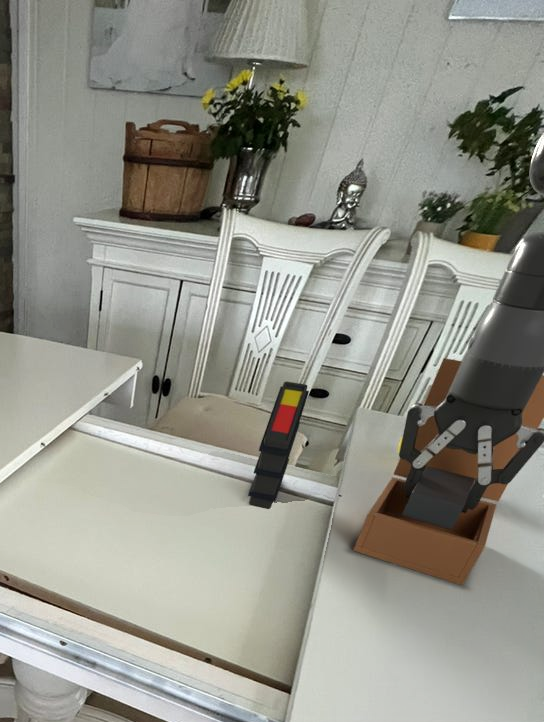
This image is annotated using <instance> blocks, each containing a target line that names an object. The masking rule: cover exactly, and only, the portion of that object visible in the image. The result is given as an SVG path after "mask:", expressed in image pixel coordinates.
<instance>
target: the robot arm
mask: <svg viewBox="0 0 544 722" xmlns="http://www.w3.org/2000/svg"><path fill="white" fill-rule="evenodd" d="M528 171H529V173H528V174H529V182H530V184H531V186H532V188H533V190H534V191H535V192H536V193H537V194H539V195H541V196H544V132H543V133H542V134H541V137H540V138H539V140H538V142H537V144H536V146H535V148H534V150H533V153H532V156H531V161H530V165H529V170H528ZM461 361H462V363H461V365H460V367H459V369H458V372H457V374H456V376H455V378H454V381H453V383H452V385H451V387H450V390H449V392H448V394H447V396H446V398H445V399H444V400H443V401H442V402H441V403H440V404H439V405H438V406H423V405H424V404H422V403H421V402H416V403H414V404H413V405H412V406H411V407H410V408H409V409H408V411H407V413H406V419H405V424H404V430H403V433H402V436H403V438H402V437H401V438H402V443H401V448H400V452H399V454H398V457H399V459H400V458H401V459H403V460H407V461H408V462H409V463H410V464H411V470H410V472H409V474H408V477H407V478H405V483H404V486H403V491H404V492H407V494H406V496H405V497H407V498H410V496H411V493H412V492H413V490H414V488H415V486H416V485H417V483H418V482H419V480H420V478H421V477H422V475H423V473H424V470H425V468H426V466H427V465H425V464H426V463H427V462H428V461H429V460H430V459H431V458H432V457H433V456H435V455H436V454H437V453H438V452H439V451H440V450H441V449H443V448H444V447H445V446H446V448H449V449H462V450H464V451H466V452H468V453H471V454H475V455H476V453H478V478H476V479H475V481H474V483H473V485H472V487H471V489H470V492H469V494H468V497H467V500H466V503H465V505H464V507H463V509H462V511H461V512H463V513H466V512H467V510H468V509H471V510H473V509H475V508H476V507H477V505H478V503H479V501H480V500H482V499H483V498H482V496H483V494H484V492H485V490H486V488H487V487H488V486H489V485H491V484H494V483H501V484H508V485H509V484H510V483H511V482H512V481H513V480H514V478H515V477H516V476H517V475H518V474H519V472H520V471H521V470H522V469H523V468H524V466H525V465H526V464H527V463H528V462H529V460H530V459H531V458H532V457H533V456H534V454H536V452H537V451H538V450H539V448H541V446H542V445H543V444H544V428H542V427H538V429H534V428H531V427H529V426H526V425H524V424H522V413H523V411H524V409H525V407H526V405H527V403H528V401H529V399H530V397H531V396H532V394H533V392H534V390H535V388H536V386H537V384H538V382H539V380H540V379H541V377H542V375H544V230H539V231H535V232H532V233H529V234H526V236H524V237H523V238H521V240H520V241H519V242H518V244H517V245H516V247H515V249H514V251H513V253H512V255H511V257H510V259H509V261H508V264H507V266H506V268H505V270H504V272H503V274H502V276H501V279H500V281H499V283H498V286H497V289H496V291H495V292H494V295H493V296H492V300H491V301H490V303H489V305H488V307H487V308H486V311H485V312H484V314H483V316H482V317H481V319H480V320H479V323H478V325H477V326H476V329H475V332H474V334H473V336H472V337H471V338H470V340H469V342H468V344H467V349H466V352H465V354H464V356H463V358H462V360H461ZM432 416H434V418H435V422H436V425H437V429H438V432H439V434H438V435H437V436H436V437H435V438H434V439H433V440H432V441H431V442H430V443H429V444H428V445H427V446H426V447H425V448H424V449H423V450H422V451H421V452H420V451H419V450H417V449H416V448H415V443H416V439H417V434H418V430H419V426H422V425H424V424H425V423H426V422H427V420H428V418H429V417H432ZM514 434H517V435H518V440H517V443H516V445H517V447H518V448H519V450H518V451H517V452H516V453H515V454H514V456H513V457H512V458H511V459H510V461H509V462H508V463H507V464H506V466H505V467H504V468H503V469H493V462H494V446H496V445H497V444H499V443H501V442H502V441H504V440H506V439H507V438H509V437H511V436H512V435H514Z"/></svg>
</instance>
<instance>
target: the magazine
mask: <svg viewBox="0 0 544 722" xmlns="http://www.w3.org/2000/svg"><path fill="white" fill-rule="evenodd" d="M309 394H310V390H308V385H307V384H305V383H299V382H292V381H284V382H283V384H282V386H280V387H279V390H278V393H277V395H276V399H275V402H274V405H273V406H272V407H273V408H272V410H271V413H270V415H269V419H268V421H267V424H266V428H265V430H264V433H263V435H262V439H261V441H260V445H259V447H258V452H260V453H259V455H258V458H257V461H256V464H255V467H254V470H253V474H255V475H254V478H253V480H252V484H251V485H250V488H249V490H248V493H247V496H248V497H249V501H248V505H249V506H252V507H256V508H261V509H265V510H270V509H271V508H272V505H273V503H274V502H276V500H277V497H278V495H279V491H280V489H281V485H282V483H283V479H284V476H285V475H286V471H287V468H288V465H289V461H290V459H289V458H290V456H291V452H292V449H293V446H294V442H295V441H296V440H295V439H296V438H297V437H296V436H297V434H298V431H299V428H300V424H301V418H302V415H303V413H304V408H305V406H306V403H307V400H308V396H309Z"/></svg>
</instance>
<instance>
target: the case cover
mask: <svg viewBox="0 0 544 722" xmlns="http://www.w3.org/2000/svg"><path fill="white" fill-rule="evenodd" d="M461 363H462V360H457V359H452V358H445V357H444V358H442V361H441V363H440V365H439V367H438V370H437V373H436V374H435V377H434V380H433V382H432V384H431V387H430V389H429V391H428V393H427V394H426V395H427V396H426V398H425V400H424V402H423V404H422V405H423V406H438V405H439V404H440V403H441V402H442V401H443V400H444V399H445V398H446V396H447V394H448V392H449V390H450V387H451V385H452V383H453V381H454V378H455V376H456V374H457V372H458V369H459V367H460V365H461ZM543 420H544V374H543V375H542V377H541V379H540V380H539V382H538V384H537V386H536V388H535V390H534V392H533V394H532V396H531V397H530V399H529V401H528V403H527V405H526V407H525V409H524V411H523V413H522V424H524V425H526V426H529V427H531V428H534V429H538V428H540V425H541V424H542V422H543ZM438 434H439V432H438V429H437V425H436V422H435V418H434V416H432V417H429V418H428V420H427V422H426V423H425V424H424V425H422V426H419V430H418V434H417V439H416V443H415V448H416V449H417V450H419V451H420V452H421V451H422V450H423V449H424V448H425V447H426V446H427V445H428V444H429V443H430V442H431V441H432V440H433V439H434V438H435V437H436V436H437V435H438ZM517 440H518V435H517V434H514V435H512V436H511V437H509V438H507V439H506V440H504V441H502V442H501V443H499V444H497V445H496V446H494V462H493V469H503V468H504V467H505V466H506V464H507V463H508V462H509V461H510V459H511V458H512V457H513V456H514V454H515V453H516V452H517V451H518V450H519V448H518V447H517V445H516V443H517ZM425 465H427V466H428V467H432V468H436V469H440V470H444V471H448V472H452V473H456V474H460V475H464V476H468V477H472V478H475V479H476V478H478V453H476V455H475V454H471V453H468V452H466V451H464V450H462V449H449V448H446V446H445V447H444V448H443V449H441V450H440V451H439V452H438V453H437V454H436V455H435V456H433V457H432V458H431V459H430V460H429V461H428V462H427V463H426V464H425ZM427 466H426V467H427ZM425 469H426V468H425ZM410 470H411V464H410V463H409V462H408V461H407V460H403V459H401V458H400V457H399V459H398V462H397V465H396V467H395V469H394V472H393V475H394V476H397V477H402V478H405V479H407V477H408V474H409V472H410ZM424 471H425V470H424ZM475 479H474V481H475ZM473 483H474V482H473ZM508 485H509V483H508V484H501V483H494V484H491V485H489V486H488V487H487V488H486V490H485V492H484V494H483V496H482V498H481V499H486V500H490V501H495V502H499V501H500V499H501V498H502V497H503V494H504V492H505V491H506V489H507V487H508Z"/></svg>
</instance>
